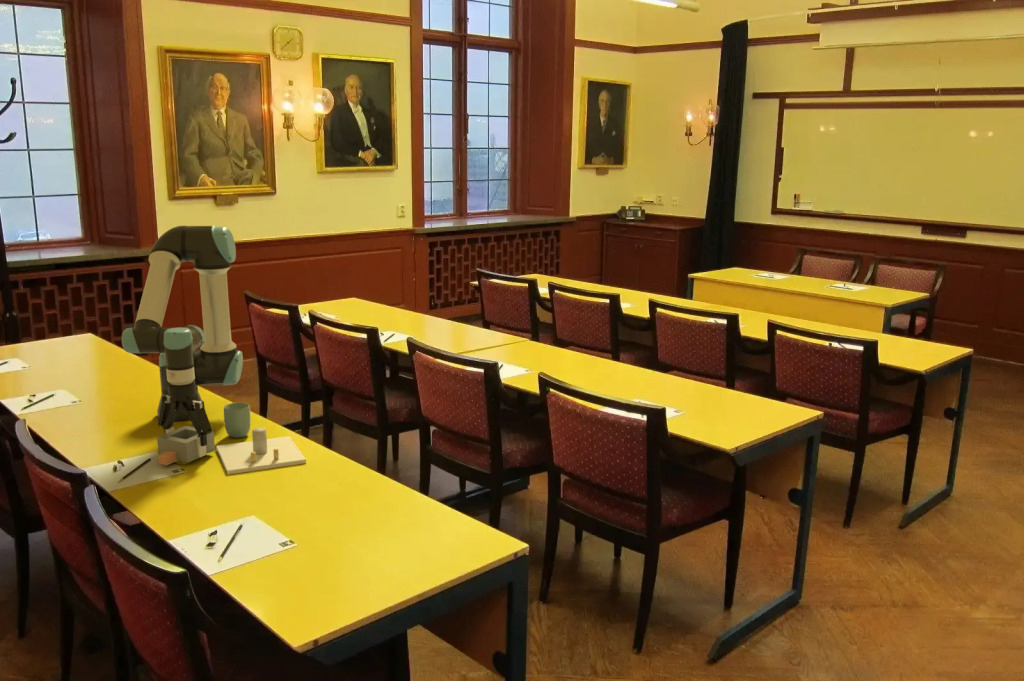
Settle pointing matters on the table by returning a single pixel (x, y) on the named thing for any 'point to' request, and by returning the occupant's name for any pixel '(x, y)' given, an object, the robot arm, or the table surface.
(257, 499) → the table surface
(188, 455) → the grey hollow box
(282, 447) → the post block
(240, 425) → the cup
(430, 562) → the table surface
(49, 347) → the table surface
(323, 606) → the table surface
